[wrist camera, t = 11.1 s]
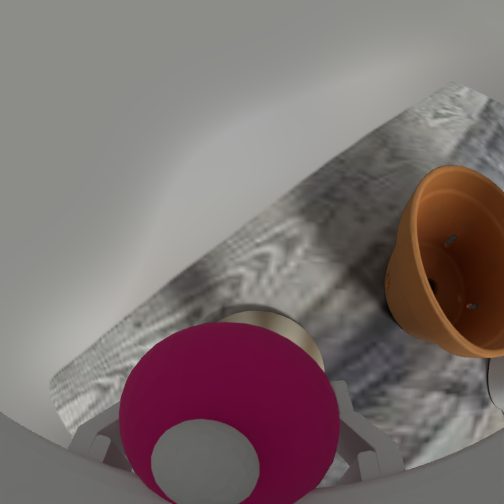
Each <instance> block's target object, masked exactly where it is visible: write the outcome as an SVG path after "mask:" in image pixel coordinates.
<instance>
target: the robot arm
mask: <svg viewBox="0 0 504 504" xmlns="http://www.w3.org/2000/svg"><path fill="white" fill-rule="evenodd" d="M329 382H330V384H331V385H332V387H333V389H334V392H335V396H336V399H337V403H338V408H339V417H340V434H339V442H338V446H337V449H336V451H337V452H338V453H339V455H340V456H341V457H342V458H343V459H344V460H345V461H346V462H347V463H348V465H349V466H350V467H349V469H348V470H347V471H346V473H345V474H344V475H343V477H342V478H341V484H342V485H338V486H331V487H322V488H315V489H313V490H312V491H311V492H309V493H308V494H307V495H305V496H304V497H302V498H301V499H299V500H298V501H297V502H295V503H294V504H504V428H503V429H501V430H499V431H497V432H495V433H494V434H492V435H490V436H488V437H486V438H484V439H482V440H481V441H479V442H477V443H475V444H473V445H470V446H468V447H466V448H464V449H462V450H460V451H457V452H455V453H453V454H450V455H448V456H446V457H443V458H440V459H438V460H435V461H433V462H430V463H427V464H424V465H421V466H418V467H415V468H412V469H409V470H405V466H404V463H403V460H402V456H401V453H400V450H399V447H398V444H397V443H396V442H395V441H393V440H392V439H391V438H389V437H388V436H387V435H386V434H384V433H383V432H382V431H381V430H379V429H378V428H377V427H376V426H374V425H373V424H372V423H371V422H369V421H368V420H367V419H366V418H364V417H363V416H362V415H361V414H360V413H358V412H354V410H353V407H352V403H351V399H350V396H349V392H348V388H347V385H346V382H345V381H332V382H331V381H329ZM488 383H489V391H490V395H491V398H492V401H493V402H494V404H495V405H496V406H497V407H498V408H500V409H501V410H502V411H503V413H504V355H503V356H499V357H493V358H491V359H490V364H489V374H488ZM119 408H120V401H119V402H118V403H116V404H115V405H113V406H111V407H110V408H108V409H107V410H105V411H103V412H102V413H100V414H99V415H97V416H95V417H94V418H92V419H90V420H89V421H87V422H85V423H84V424H82V425H80V426H79V428H78V430H77V432H76V433H75V435H74V437H73V439H72V442H71V443H70V445H69V447H68V449H66V448H64V447H62V446H60V445H58V444H56V443H54V442H52V441H50V440H48V439H45V438H44V437H42V436H40V435H38V434H36V433H34V432H32V431H31V430H29V429H27V428H25V427H24V426H22V425H20V424H19V423H17V422H15V421H14V420H12V419H10V418H9V417H7V416H6V415H4V414H3V413H1V412H0V504H172V503H170V502H168V501H166V500H165V499H163V498H162V497H160V496H159V495H157V494H156V493H155V492H153V491H152V490H150V489H149V488H148V487H147V486H146V485H145V484H144V483H143V481H142V480H141V479H140V478H139V476H138V475H137V474H136V473H133V472H131V470H132V466H131V464H130V462H129V461H128V460H127V459H126V458H125V456H124V455H126V454H125V451H124V448H123V444H122V441H121V437H120V427H119Z"/></svg>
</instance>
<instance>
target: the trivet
mask: <svg viewBox="0 0 504 504" xmlns="http://www.w3.org/2000/svg"><path fill="white" fill-rule="evenodd" d="M218 322H235V323H247V324H251V325H256V326H260V327H263V328H266V329H269V330H271V331H274V332H276V333H278V334H280V335H282V336H284V337H286V338H288V339H289V340H291V341H292V342H294V343H295V344H297V345H298V346H299V347H301V348H302V349H303V350H304V351H305V352H306V353H307V354H309V355H310V356H311V357H312V358H313V359H314V360H315V361H316V362H317V364H318V365H319V366H320V367H321V369H322V370H323V371H324V365H323V360H322V357H321V354H320V351H319V349H318V347H317V345H316V343H315V342H314V340H313V339H312V338H311V336H310V335H309V334H308V333H307V332H306V331H305V330H304V329H303V328H302V327H301V326H299V325H298V324H297V323H295V322H294V321H292V320H291V319H288V318H286V317H284V316H282V315H279V314H276V313H272V312H267V311H245V312H239V313H236V314H232V315H229V316H227V317H225V318H223V319H221V320H219V321H218Z"/></svg>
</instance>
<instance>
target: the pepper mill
mask: <svg viewBox="0 0 504 504" xmlns="http://www.w3.org/2000/svg"><path fill="white" fill-rule="evenodd" d="M119 427H120V437H121V441H122V444H123V448H124V451H125V454H126V456H127V458H128V460H129V462H130V464H131V466H132V468H133V470H134V471H135V473H136V474H137V475H138V476H139V478H140V479H141V480H142V481H143V483H144V484H145V485H146V486H147V487H148V488H149V489H150V490H152V491H153V492H155V493H156V494H157V495H159V496H160V497H162V498H163V499H165V500H166V501H168V502H170V503H172V504H294V503H295V502H297V501H298V500H299V499H301V498H302V497H304V496H305V495H307V494H308V493H309V492H311V491H312V490H313V489H315V488H316V487H317V485H318V484H319V483H320V482H321V480H322V479H323V477H324V476H325V474H326V472H327V471H328V469H329V467H330V466H331V464H332V462H333V460H334V456H335V453H336V449H337V446H338V442H339V434H340V417H339V408H338V403H337V399H336V396H335V392H334V389H333V387H332V385H331V384H330V382H329V380H328V378H327V376H326V374H325V372H324V371H323V370H322V369H321V367H320V366H319V365H318V364H317V362H316V361H315V360H314V359H313V358H312V357H311V356H310V355H309V354H307V353H306V352H305V351H304V350H303V349H302V348H301V347H299V346H298V345H297V344H295V343H294V342H292V341H291V340H289V339H288V338H286V337H284V336H282V335H280V334H278V333H276V332H274V331H271V330H269V329H266V328H263V327H260V326H256V325H251V324H247V323H235V322H214V323H205V324H201V325H197V326H193V327H189V328H187V329H184V330H181V331H179V332H176V333H174V334H172V335H170V336H169V337H167V338H165V339H164V340H162V341H160V342H159V343H157V344H156V345H155V346H154V347H153V348H151V349H150V350H149V351H148V352H147V353H146V354H145V355H144V356H143V357H142V358H141V360H140V361H139V362H138V363H137V365H136V366H135V367H134V368H133V370H132V371H131V373H130V375H129V377H128V379H127V381H126V384H125V387H124V390H123V393H122V396H121V399H120V408H119Z"/></svg>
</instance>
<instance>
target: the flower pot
mask: <svg viewBox="0 0 504 504" xmlns="http://www.w3.org/2000/svg"><path fill="white" fill-rule="evenodd" d="M451 236H456V239H455V240H454V241H453V242H452V243H450V244H445V242H446V241H447V240H448V239H449V238H450V237H451ZM428 281H431V282H432V283H433V285H434V287H435V293H434V294H433V292H432V289H431V287H430V285H429V282H428ZM385 295H386V300H387V304H388V307H389V309H390V311H391V313H392V315H393V317H394V319H395V320H396V322H397V323H398V324H399V325H400V327H401V328H402V329H404V330H405V331H406V332H407V333H408V334H410V335H412V336H414V337H416V338H418V339H421V340H424V341H428V342H431V343H435V344H438V345H439V346H440V347H441V348H443V349H444V350H446V351H448V352H450V353H452V354H454V355H457V356H461V357H468V358H493V357H499V356H503V355H504V192H503V191H502V190H501V189H500V188H499V187H498V186H497V185H496V184H495V183H494V182H492V181H491V180H490V179H488V178H487V177H485V176H484V175H482V174H480V173H478V172H476V171H474V170H472V169H469V168H466V167H463V166H457V165H446V166H441V167H438V168H436V169H434V170H432V171H431V172H429V173H428V174H427V175H426V176H425V177H424V178H423V179H422V180H421V182H420V183H419V185H418V186H417V188H416V190H415V191H414V193H413V195H412V196H411V198H410V200H409V202H408V204H407V205H406V207H405V209H404V211H403V213H402V216H401V219H400V222H399V226H398V231H397V240H396V245H395V248H394V250H393V253H392V255H391V258H390V260H389V263H388V266H387V270H386V275H385ZM472 304H476V305H478V307H477V308H476V309H469V308H468V307H469V306H470V305H472Z"/></svg>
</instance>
